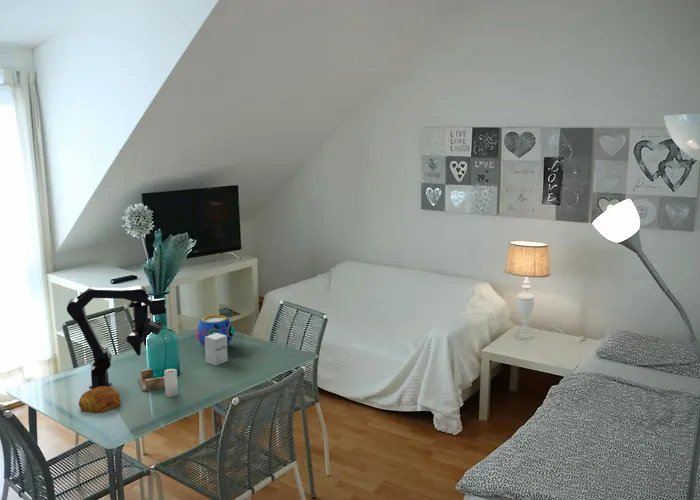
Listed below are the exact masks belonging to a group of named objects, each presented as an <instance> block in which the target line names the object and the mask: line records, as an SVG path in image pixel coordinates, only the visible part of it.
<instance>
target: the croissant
mask: <svg viewBox="0 0 700 500" xmlns="http://www.w3.org/2000/svg"><path fill="white" fill-rule="evenodd" d="M121 403H122V402H121V396H120V392H119V391H118V390H117V389H115V388H114V387H110V386H101V387H96V388H90V389H88V390H87V391H85V392H83V393H82V395H81V396H80V398H79V401H78V407H79V408H80V410H82V411H84V412H90V413H95V414H99V413H104V412H107V411H111V410H113V409H115V408H117V407H118V406H119V405H120V404H121Z"/></svg>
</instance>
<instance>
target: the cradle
mask: <svg viewBox="0 0 700 500" xmlns="http://www.w3.org/2000/svg"><path fill="white" fill-rule="evenodd" d="M167 369H168V368H167ZM167 369H166V370H167ZM164 371H165V370H164ZM140 376H141V377H138V378H137V381H138V383H139V385H140V388H141V391H142V392H148V391H154V390H156V391H157V390H160V389H165V380H164V376H163V377H157V378H155V377H153V371H152V369H151V368H145V369H142V370H141V369H140Z"/></svg>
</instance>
